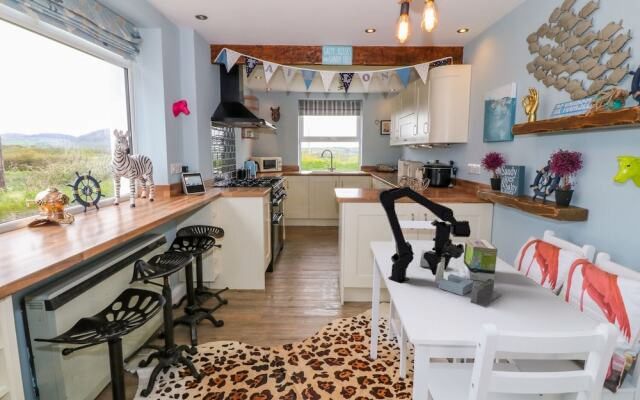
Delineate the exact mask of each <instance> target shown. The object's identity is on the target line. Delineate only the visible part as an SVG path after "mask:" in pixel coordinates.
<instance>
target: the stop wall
mask: <svg viewBox="0 0 640 400" xmlns="http://www.w3.org/2000/svg"><path fill="white" fill-rule="evenodd" d="M494 287H495V279H494V280H492V279H488V280H486V281H482V282H481V283H480V284H478V285H477V286H475V287H473V289H472V290H471V297H470V303H471V304H474V305H477V306H480V307H483V308H486V307H487V306H489V305H490V304H491V303H493V302H494V301H496V300H497V299H498V298H500V296H502V295H503V294H502V292H499V291H495V290H494Z"/></svg>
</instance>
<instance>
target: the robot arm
mask: <svg viewBox="0 0 640 400" xmlns="http://www.w3.org/2000/svg"><path fill="white" fill-rule="evenodd" d="M376 197H377V200H378V201H379V203H380V205H381V207H382V208H383V210H384V212H385V214H386V219H387V220H388V223H389V226H390V227H389V228H390V229H391V233H392V235H393V238H394V241H395V242H394V243H395V244H394V245H395V253H394V254H393V255H392V256H390V258H391V261H392V264H391V276H388V277H387V279H388V280H390V281H391V280H392V281H394V282H397V283H400V284H402V283H404V282H406V281H408V280H410V277H407V271H408V270H407V269H408V268H409V265H410V264H411V263H412V262H413V260H414V258H415V257H414V256H415V253H414V250H413V247H412V244H411V243H410V242H409V241H406V240H405V237H404V233H403V230H402V227H401V225H400V221H399V218H398V215H397V212H396V205H395V204H396V203H395V201H397V200H399V199H403V198H405V197H407V198H408V199H410V200H411V201H413V202H415V203H417V204H419V205H420V206H422V207H424V208H426V209H427V210H428V211H429V212H430V213H432V215H434V216H435V217H436V218H437V219H434V220H433V221H432V222H430V225H432V226H433V227H435V234H434V237H433V238H432V241H433V242H434V246H433V247H432V248H431V250H426V251H427V252H425V253H424V255H423V258H424V259H425V260H426V261H427V262H428V264H429V267H430V268H429V267H428V268H429V269H430V272H431V273H432V275H433V276H435V275H436V272H437V267H438V264H439V263H440V262H441V259H442V257H444V258H445V265H444V271H447V269H448V266H449V264H450V261H451V259H452V258H453V259H456V260H457V259H459V258H461V256H462V255H463V253H464V252H465V244H462V243H459V244H454V243H453V240H452V238H450V237H451V235H452V237H453V238H469V237H470V236H471V232H472V231H471V226H470V222H469V221H468V220H457V219H456V217H455V216H454V210H453V209H452V208H450V207H448V206H447V205H443V204H441V203H438V202H435V201H432V200H431V199H429V198H428V197H426V196H425V195H422V194H420V193H419V192H417V191H415V190H414V189H412V188H411V187H410V186H407V185H402V186H399V187H393V188H389V189H388V188H380V190H378V191H377V194H376ZM438 219H439V220H441V221H438ZM446 222H448V223H446Z"/></svg>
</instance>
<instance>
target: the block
mask: <svg viewBox="0 0 640 400" xmlns="http://www.w3.org/2000/svg"><path fill="white" fill-rule="evenodd" d="M474 281H475V280H472V279H470V278H465V277H462V276H459V275H455V274H452V273H450V274H449V275H447V279H445V278H443V279H440V280H439V282H438V288H439V289H441V290H445V291H447V292H451V293H454V294H457V295H459V296H463V295H465V294H467V293H469V292H470V291H472V289H473V288H474V286H475V285H474V284H475V283H474Z"/></svg>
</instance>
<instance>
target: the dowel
mask: <svg viewBox="0 0 640 400" xmlns="http://www.w3.org/2000/svg"><path fill="white" fill-rule="evenodd" d="M444 265H445V258H444V257H442V259H441V262H440V263H439V264H438V267H437V272H436V275H434V281H435V282H437V283H439V280H440V279H444V276H445V275H444V274H445V270H444Z"/></svg>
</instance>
